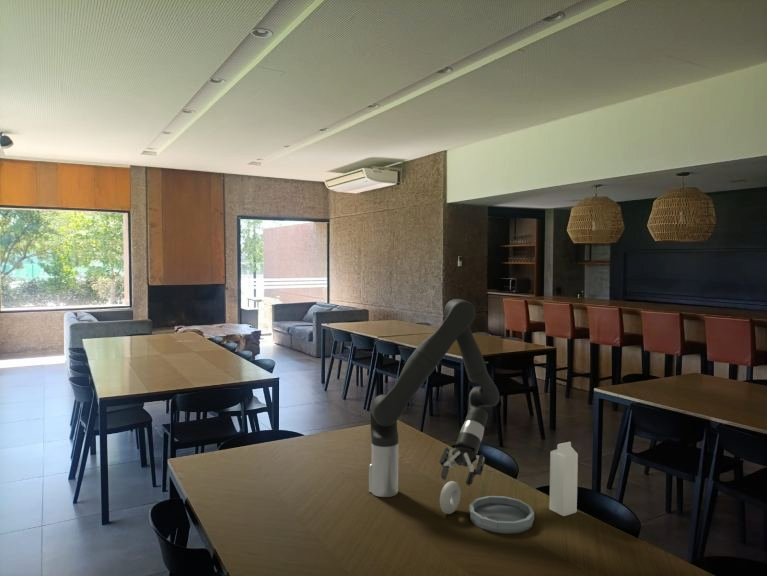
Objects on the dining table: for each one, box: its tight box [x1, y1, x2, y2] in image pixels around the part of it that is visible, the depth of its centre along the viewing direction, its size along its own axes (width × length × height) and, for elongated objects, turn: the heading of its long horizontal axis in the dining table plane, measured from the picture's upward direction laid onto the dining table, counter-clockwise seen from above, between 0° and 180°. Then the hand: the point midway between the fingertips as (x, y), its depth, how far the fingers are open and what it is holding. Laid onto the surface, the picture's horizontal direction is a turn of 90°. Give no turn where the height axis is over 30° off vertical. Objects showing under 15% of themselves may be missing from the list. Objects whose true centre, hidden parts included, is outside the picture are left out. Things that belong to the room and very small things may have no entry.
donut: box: [439, 480, 462, 515], centre depth 176 cm, size 10×4×10 cm, turn 143°
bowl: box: [469, 495, 535, 535], centre depth 172 cm, size 19×19×3 cm
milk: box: [548, 441, 579, 517], centre depth 178 cm, size 6×6×22 cm
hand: (455, 481), depth 179 cm, fingers open, 8 cm apart
